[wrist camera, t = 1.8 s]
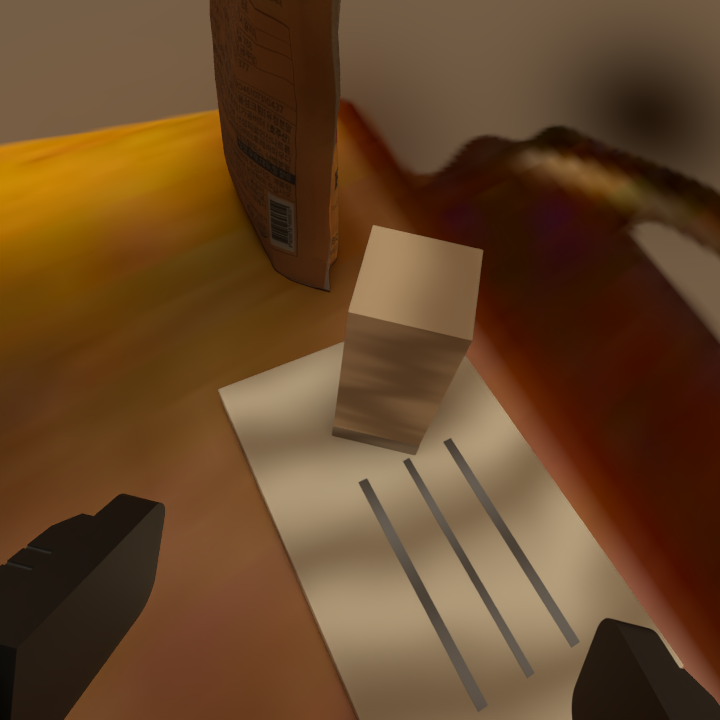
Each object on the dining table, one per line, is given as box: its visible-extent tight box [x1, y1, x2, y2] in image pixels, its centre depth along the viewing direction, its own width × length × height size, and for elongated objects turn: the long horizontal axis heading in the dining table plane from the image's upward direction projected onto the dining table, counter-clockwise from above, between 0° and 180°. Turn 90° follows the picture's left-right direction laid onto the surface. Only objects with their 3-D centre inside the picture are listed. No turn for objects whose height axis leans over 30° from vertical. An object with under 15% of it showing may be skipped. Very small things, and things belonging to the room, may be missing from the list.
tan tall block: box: [332, 225, 483, 455], centre depth 24 cm, size 5×5×11 cm
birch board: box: [218, 342, 684, 720], centre depth 27 cm, size 22×14×2 cm, turn 27°
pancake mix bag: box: [210, 0, 341, 291], centre depth 26 cm, size 7×19×28 cm, turn 24°
